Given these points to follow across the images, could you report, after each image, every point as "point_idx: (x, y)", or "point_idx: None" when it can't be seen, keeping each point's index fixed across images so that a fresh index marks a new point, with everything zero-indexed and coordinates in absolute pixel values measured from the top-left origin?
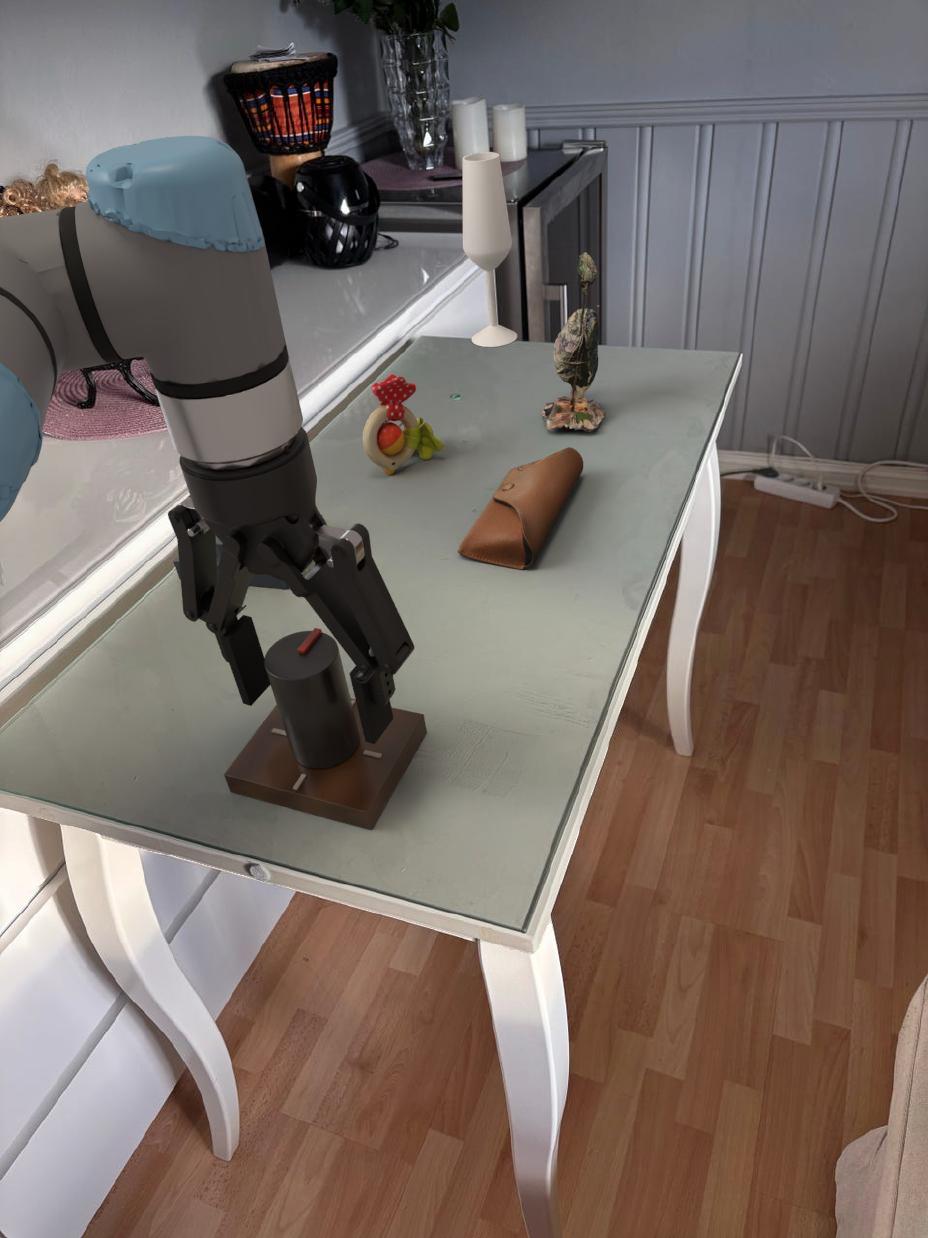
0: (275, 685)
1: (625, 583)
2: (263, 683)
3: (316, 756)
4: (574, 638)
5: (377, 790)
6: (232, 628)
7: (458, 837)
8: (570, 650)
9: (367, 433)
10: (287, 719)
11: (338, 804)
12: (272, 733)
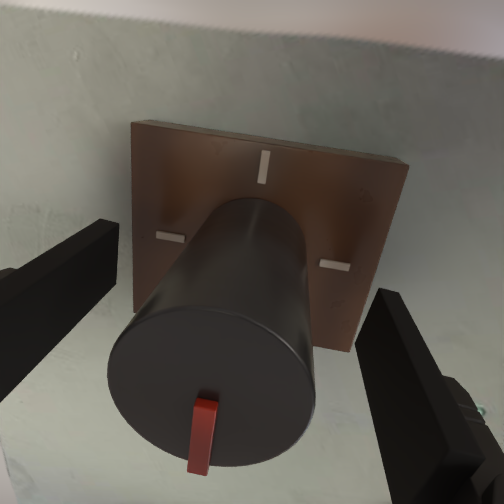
0: (261, 298)
1: (34, 488)
2: (364, 337)
3: (234, 206)
4: (48, 426)
5: (134, 169)
6: (449, 489)
7: (32, 129)
8: (44, 411)
9: None
10: (265, 243)
11: (181, 130)
12: (347, 261)
